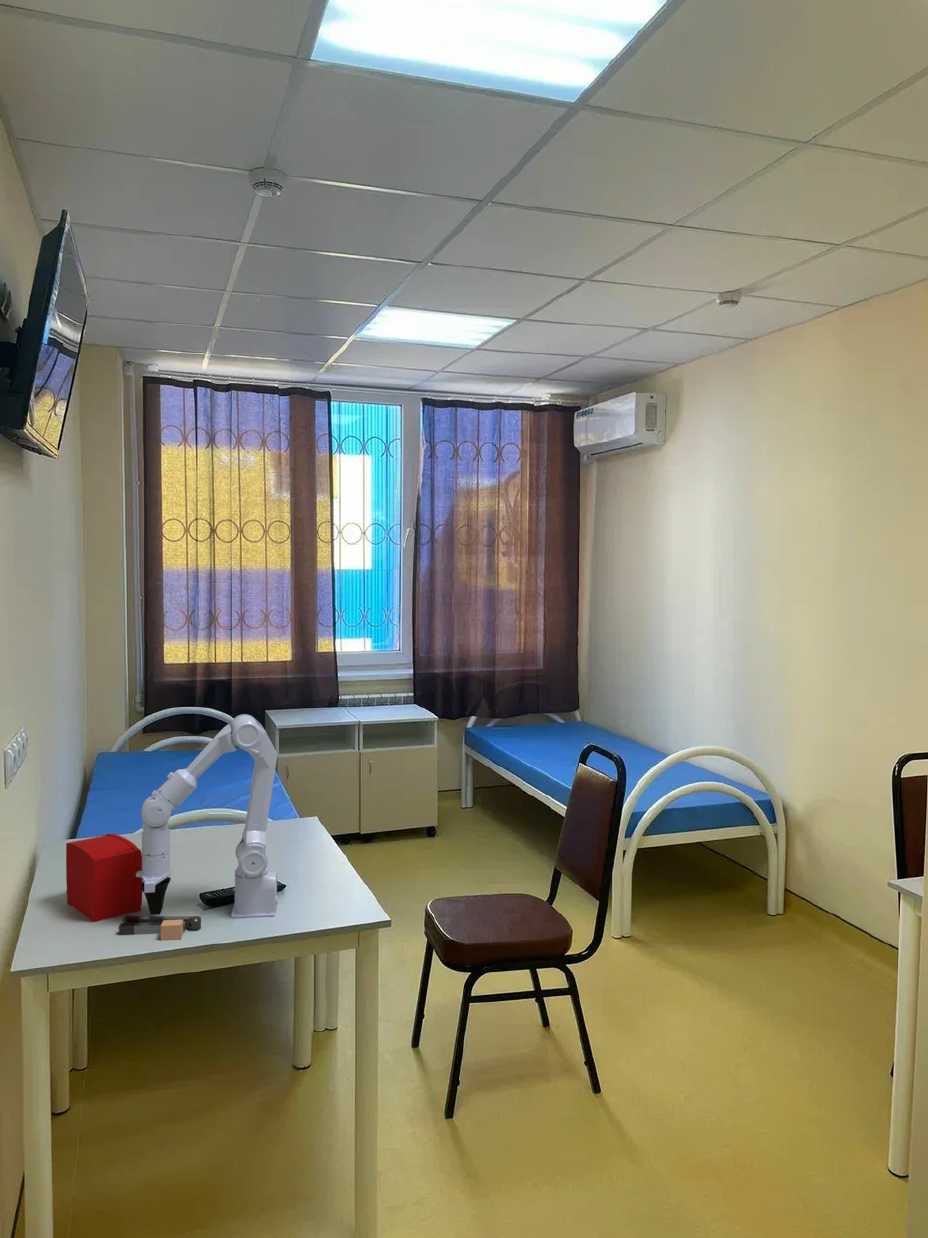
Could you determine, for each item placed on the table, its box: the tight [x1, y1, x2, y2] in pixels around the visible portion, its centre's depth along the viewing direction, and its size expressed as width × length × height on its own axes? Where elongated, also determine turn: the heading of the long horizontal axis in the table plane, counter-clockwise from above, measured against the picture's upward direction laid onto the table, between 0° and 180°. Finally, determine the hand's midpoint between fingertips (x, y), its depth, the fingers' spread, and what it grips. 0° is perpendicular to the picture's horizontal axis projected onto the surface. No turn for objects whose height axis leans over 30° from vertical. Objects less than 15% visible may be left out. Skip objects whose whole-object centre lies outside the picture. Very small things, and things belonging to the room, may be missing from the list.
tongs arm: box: [122, 915, 202, 932], centre depth 189 cm, size 16×3×2 cm, turn 93°
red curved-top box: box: [65, 833, 143, 923], centre depth 201 cm, size 16×11×15 cm
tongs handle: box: [118, 921, 187, 936], centre depth 187 cm, size 13×2×2 cm, turn 99°
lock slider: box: [160, 920, 184, 941], centre depth 185 cm, size 4×3×3 cm
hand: (155, 913), depth 194 cm, fingers closed
